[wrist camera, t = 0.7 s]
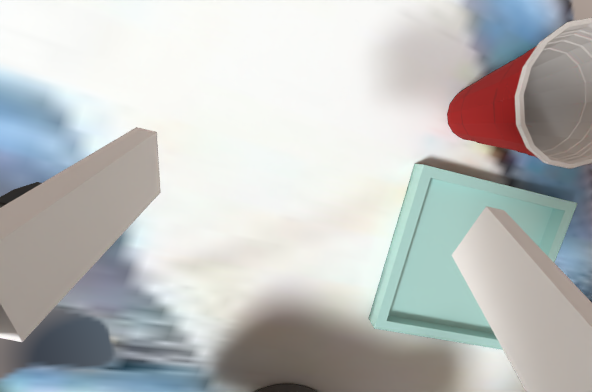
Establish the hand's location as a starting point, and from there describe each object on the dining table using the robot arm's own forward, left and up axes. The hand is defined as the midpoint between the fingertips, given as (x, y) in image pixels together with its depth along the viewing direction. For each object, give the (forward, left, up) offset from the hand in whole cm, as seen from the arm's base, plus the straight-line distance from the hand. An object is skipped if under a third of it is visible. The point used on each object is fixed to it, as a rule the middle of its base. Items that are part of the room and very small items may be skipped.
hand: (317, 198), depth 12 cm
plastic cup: (+11, -20, -21) cm, 30 cm away
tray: (-6, -24, -20) cm, 33 cm away
